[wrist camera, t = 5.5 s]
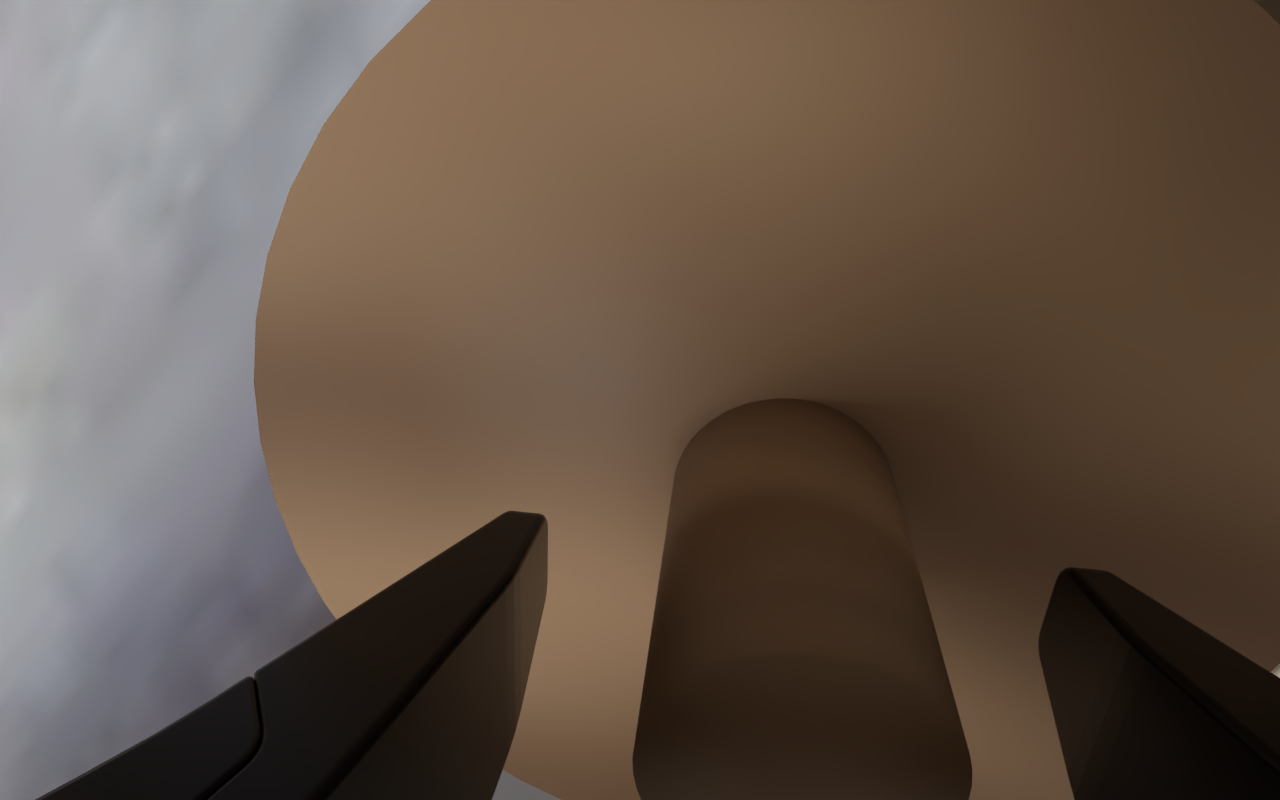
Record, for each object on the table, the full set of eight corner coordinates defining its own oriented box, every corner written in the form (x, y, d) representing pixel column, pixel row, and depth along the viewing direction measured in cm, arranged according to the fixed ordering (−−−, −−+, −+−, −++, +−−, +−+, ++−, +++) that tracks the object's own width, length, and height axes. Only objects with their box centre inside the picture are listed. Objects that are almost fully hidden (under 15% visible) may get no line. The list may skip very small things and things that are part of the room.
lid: (1147, 855, 13) (1332, 1272, 9) (345, 751, 14) (177, 1081, 10) (1624, -107, 7) (2815, -203, 3) (197, -165, 8) (-367, -297, 4)
